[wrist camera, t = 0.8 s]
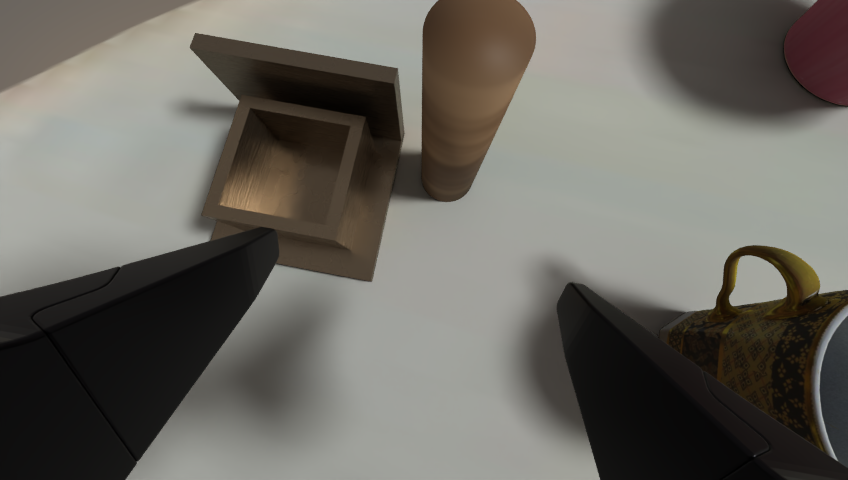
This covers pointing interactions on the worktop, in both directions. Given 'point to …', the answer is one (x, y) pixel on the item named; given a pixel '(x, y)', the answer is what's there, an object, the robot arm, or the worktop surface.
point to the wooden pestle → (468, 86)
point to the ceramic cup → (777, 350)
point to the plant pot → (821, 50)
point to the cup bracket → (306, 153)
